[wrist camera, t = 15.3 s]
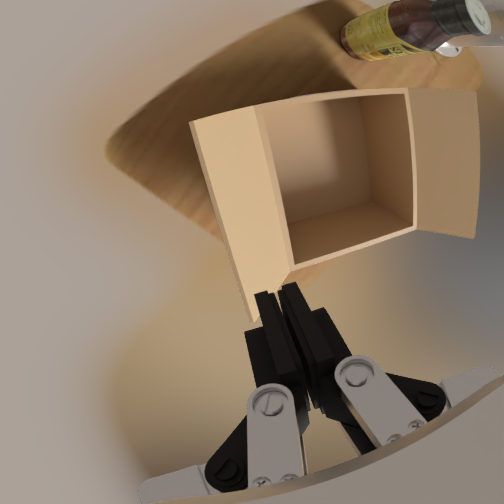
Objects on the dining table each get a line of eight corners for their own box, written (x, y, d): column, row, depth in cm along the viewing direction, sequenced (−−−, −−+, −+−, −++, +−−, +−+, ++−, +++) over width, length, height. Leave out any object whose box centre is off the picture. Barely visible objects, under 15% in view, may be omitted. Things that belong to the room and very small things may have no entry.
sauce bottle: (352, 68, 29) (475, 53, 12) (329, 27, 26) (440, -20, 9) (386, 55, 28) (505, 45, 11) (366, 16, 26) (477, -17, 8)
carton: (358, 89, 30) (407, 86, 22) (373, 202, 38) (416, 229, 29) (236, 108, 30) (252, 104, 21) (266, 232, 37) (289, 271, 28)
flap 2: (407, 87, 22) (408, 87, 22) (416, 229, 29) (417, 227, 29) (475, 91, 17) (475, 91, 17) (474, 238, 24) (474, 237, 25)
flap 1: (289, 271, 28) (286, 271, 29) (253, 105, 21) (248, 106, 21) (253, 322, 23) (249, 322, 23) (193, 120, 16) (188, 122, 16)
